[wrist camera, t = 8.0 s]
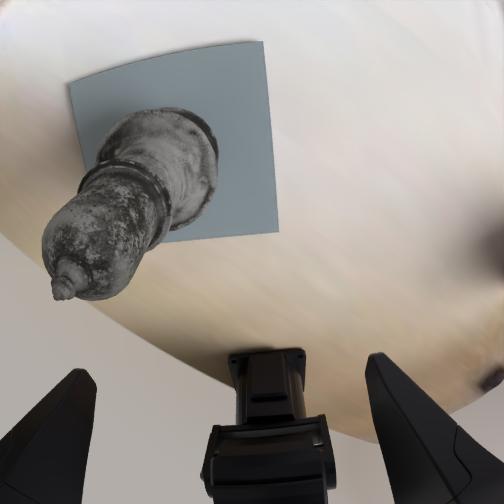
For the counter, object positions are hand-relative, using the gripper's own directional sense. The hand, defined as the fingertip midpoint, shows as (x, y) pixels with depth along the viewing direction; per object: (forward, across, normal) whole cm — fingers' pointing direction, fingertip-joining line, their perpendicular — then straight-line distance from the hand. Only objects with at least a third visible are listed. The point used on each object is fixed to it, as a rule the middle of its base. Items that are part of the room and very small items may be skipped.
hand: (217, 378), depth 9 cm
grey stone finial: (+11, +3, -4) cm, 12 cm away
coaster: (+12, +3, -4) cm, 13 cm away
